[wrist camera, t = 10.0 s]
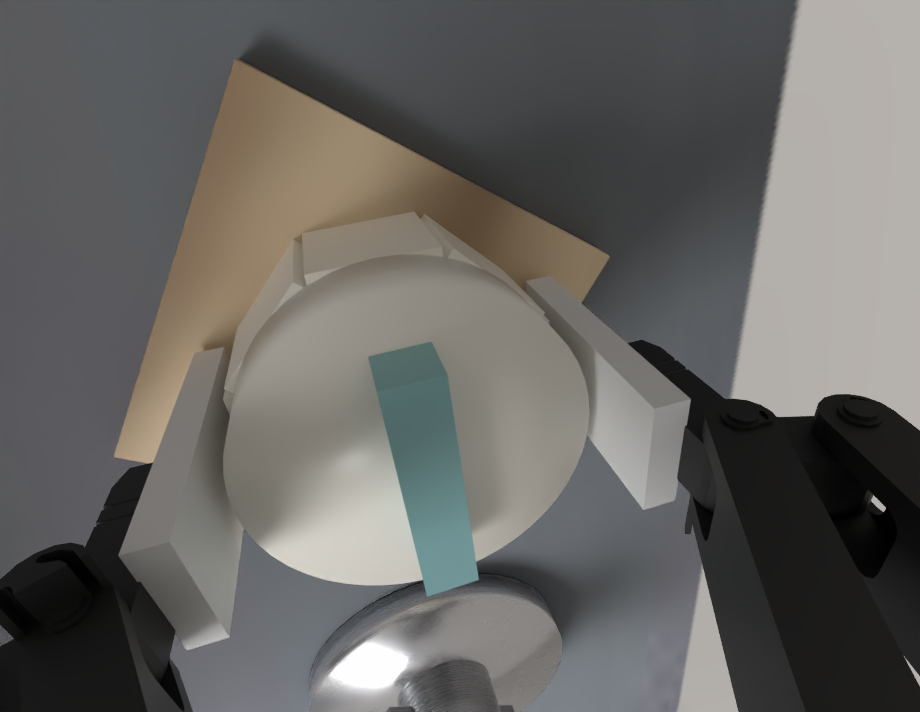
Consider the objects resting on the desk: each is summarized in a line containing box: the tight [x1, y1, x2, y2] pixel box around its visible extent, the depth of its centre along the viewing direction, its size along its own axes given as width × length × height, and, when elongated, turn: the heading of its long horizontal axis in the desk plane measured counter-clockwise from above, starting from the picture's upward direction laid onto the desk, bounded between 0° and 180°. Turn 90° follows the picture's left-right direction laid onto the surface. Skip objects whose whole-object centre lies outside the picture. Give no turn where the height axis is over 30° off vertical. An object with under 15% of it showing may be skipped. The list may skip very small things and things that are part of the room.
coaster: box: [114, 59, 610, 463], centre depth 15 cm, size 11×11×1 cm
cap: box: [223, 212, 590, 597], centre depth 12 cm, size 8×8×6 cm
